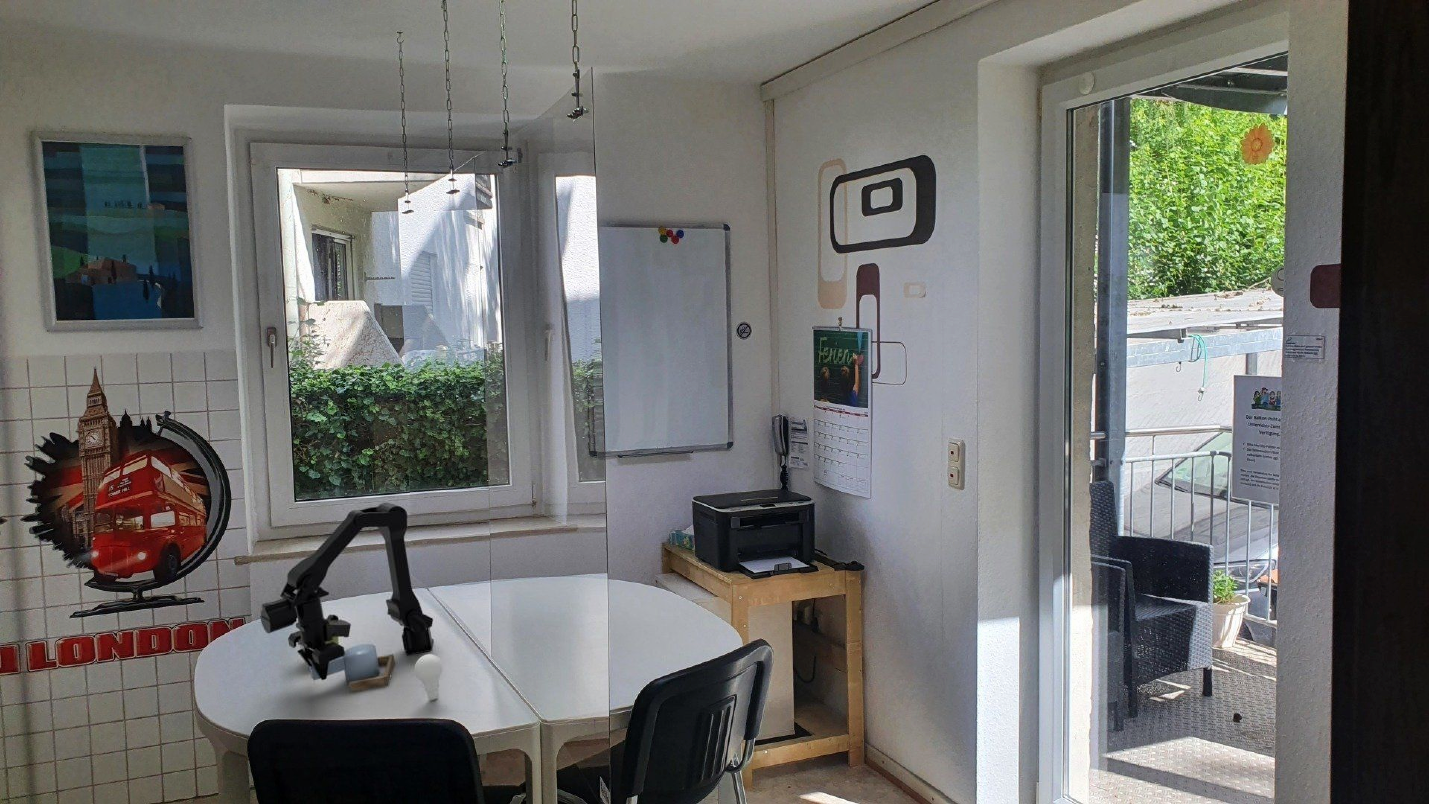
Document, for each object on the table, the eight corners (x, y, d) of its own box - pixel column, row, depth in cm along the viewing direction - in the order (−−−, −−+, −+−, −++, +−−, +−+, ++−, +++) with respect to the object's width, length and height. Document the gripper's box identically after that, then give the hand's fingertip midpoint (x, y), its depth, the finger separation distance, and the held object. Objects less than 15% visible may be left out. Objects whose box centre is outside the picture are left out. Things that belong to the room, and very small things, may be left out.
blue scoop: (374, 664, 245) (369, 641, 243) (384, 675, 238) (379, 650, 237) (310, 687, 236) (306, 662, 235) (319, 698, 229) (314, 673, 228)
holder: (394, 661, 245) (393, 653, 245) (388, 685, 233) (386, 676, 232) (358, 668, 243) (357, 660, 243) (350, 692, 231) (348, 683, 231)
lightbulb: (423, 694, 226) (415, 651, 224) (449, 691, 227) (442, 648, 224) (417, 707, 220) (410, 663, 218) (444, 704, 221) (437, 660, 219)
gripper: (360, 614, 229) (370, 675, 232) (326, 597, 242) (337, 655, 245) (314, 631, 222) (325, 694, 225) (282, 613, 235) (293, 672, 238)
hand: (321, 678), depth 233 cm, fingers closed on blue scoop, 2 cm apart
